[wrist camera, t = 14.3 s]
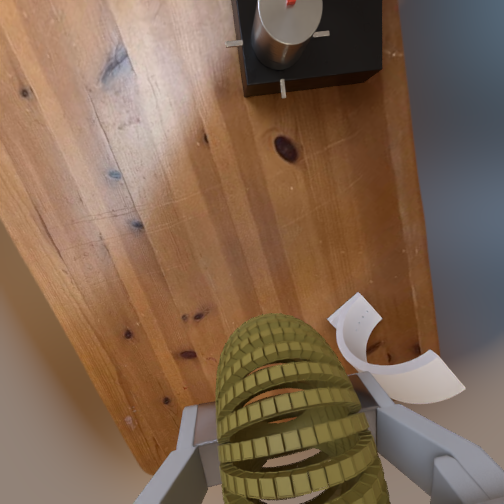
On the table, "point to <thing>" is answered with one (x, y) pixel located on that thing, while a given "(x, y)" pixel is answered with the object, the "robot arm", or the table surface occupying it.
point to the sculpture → (294, 431)
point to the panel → (316, 49)
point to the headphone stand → (393, 376)
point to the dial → (284, 30)
